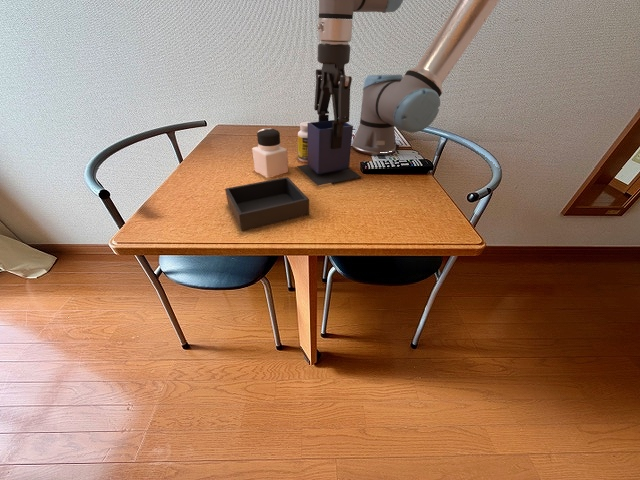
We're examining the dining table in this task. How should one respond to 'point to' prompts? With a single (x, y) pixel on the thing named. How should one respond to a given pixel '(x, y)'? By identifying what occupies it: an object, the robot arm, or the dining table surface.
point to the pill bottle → (303, 141)
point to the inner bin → (327, 148)
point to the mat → (329, 176)
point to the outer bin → (266, 203)
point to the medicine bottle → (269, 154)
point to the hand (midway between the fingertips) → (329, 143)
